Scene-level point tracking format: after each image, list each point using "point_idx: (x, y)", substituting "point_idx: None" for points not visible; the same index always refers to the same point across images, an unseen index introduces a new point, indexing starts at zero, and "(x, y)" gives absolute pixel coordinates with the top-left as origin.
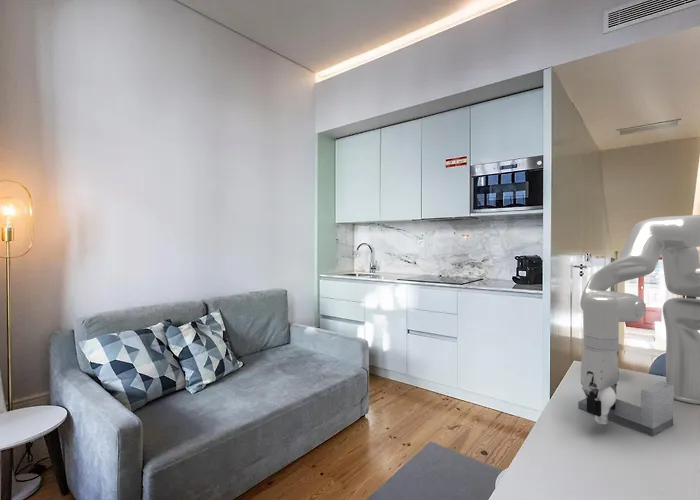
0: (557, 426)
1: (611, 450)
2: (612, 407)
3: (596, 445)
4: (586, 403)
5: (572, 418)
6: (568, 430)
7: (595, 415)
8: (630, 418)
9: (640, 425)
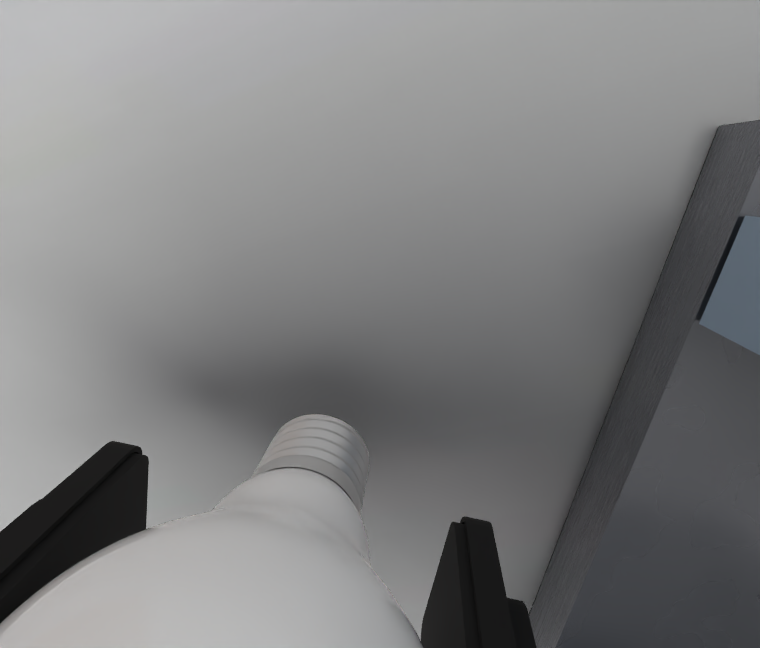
0: (74, 139)
1: None
2: (421, 640)
3: (56, 449)
4: (744, 226)
5: (377, 176)
6: (91, 239)
7: (288, 447)
8: (626, 591)
9: (551, 638)
